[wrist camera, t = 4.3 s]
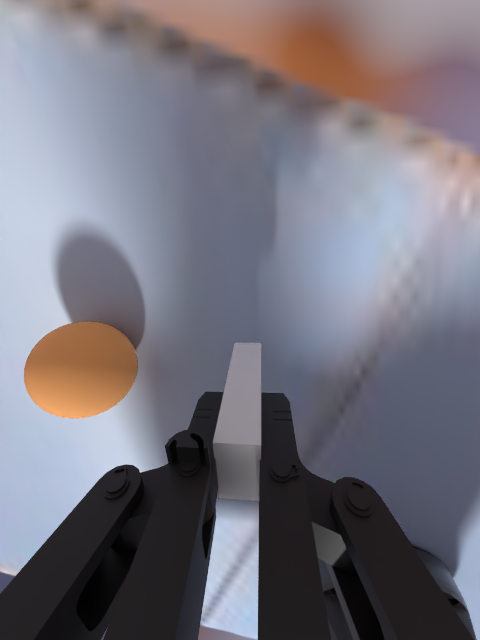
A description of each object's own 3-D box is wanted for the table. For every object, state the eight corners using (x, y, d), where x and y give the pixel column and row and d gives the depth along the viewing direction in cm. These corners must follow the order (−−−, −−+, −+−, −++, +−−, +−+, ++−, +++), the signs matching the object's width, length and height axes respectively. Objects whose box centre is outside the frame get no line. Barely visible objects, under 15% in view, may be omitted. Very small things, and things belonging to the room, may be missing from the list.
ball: (144, 308, 15) (85, 351, 10) (158, 379, 17) (115, 444, 12) (64, 308, 16) (-29, 349, 11) (87, 377, 18) (18, 439, 13)
